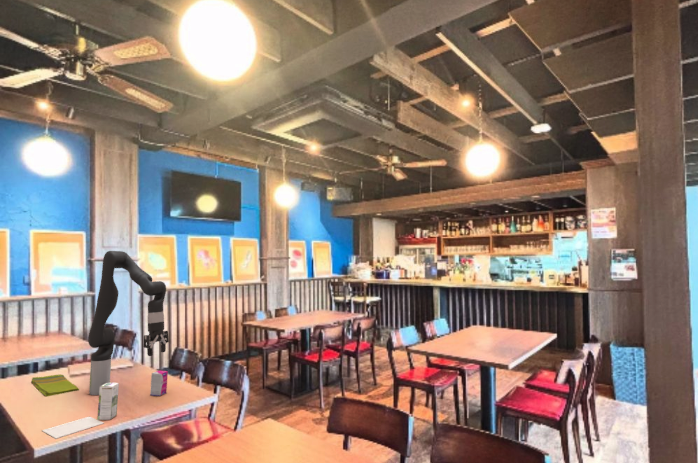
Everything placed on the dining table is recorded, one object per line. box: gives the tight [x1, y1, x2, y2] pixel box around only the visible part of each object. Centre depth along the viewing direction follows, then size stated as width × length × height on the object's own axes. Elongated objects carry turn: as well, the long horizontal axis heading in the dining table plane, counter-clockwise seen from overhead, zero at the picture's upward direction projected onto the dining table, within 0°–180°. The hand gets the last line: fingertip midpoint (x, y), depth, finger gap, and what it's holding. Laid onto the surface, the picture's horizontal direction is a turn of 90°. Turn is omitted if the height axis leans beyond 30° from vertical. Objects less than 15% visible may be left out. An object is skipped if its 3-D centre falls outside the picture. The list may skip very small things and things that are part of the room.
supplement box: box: [149, 370, 169, 397], centre depth 212 cm, size 6×6×12 cm
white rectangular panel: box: [41, 416, 105, 440], centre depth 170 cm, size 13×18×1 cm
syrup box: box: [96, 382, 120, 421], centre depth 181 cm, size 6×6×14 cm
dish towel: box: [30, 373, 80, 397], centre depth 225 cm, size 15×36×3 cm, turn 47°
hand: (156, 354), depth 203 cm, fingers open, 8 cm apart
